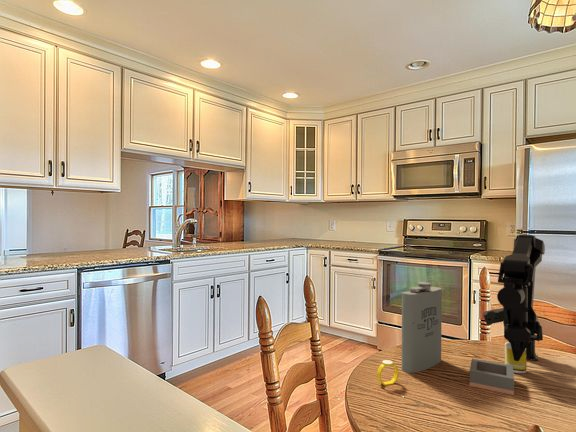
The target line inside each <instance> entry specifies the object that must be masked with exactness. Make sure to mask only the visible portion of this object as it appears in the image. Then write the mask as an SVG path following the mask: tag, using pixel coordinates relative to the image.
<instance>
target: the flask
mask: <svg viewBox="0 0 576 432" xmlns="http://www.w3.org/2000/svg"><path fill="white" fill-rule="evenodd" d="M417 284H418V285H417V286H412V287H408V288H409V289H408V290H409V291H402V292H401V368H400V369H401V372H403V373H406V374H416V373H418V372H423V371H425V370H428V369H431V368H433V367H435V366H437V365H438V364H439V363H440V362H442V317H443V316H442V313H443V312H442V310H443V309H442V307H443V306H442V303H443V301H442V300H443V299H442V298H443V297H442V295H443V293H442V290H443V288H441V287H437V286H432V283H431V282H426V281H418V282H417Z"/></svg>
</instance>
